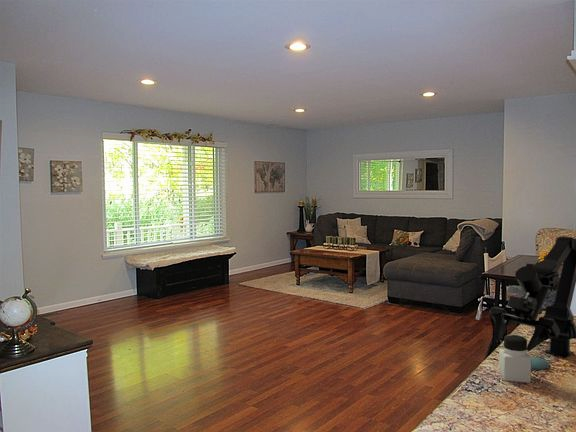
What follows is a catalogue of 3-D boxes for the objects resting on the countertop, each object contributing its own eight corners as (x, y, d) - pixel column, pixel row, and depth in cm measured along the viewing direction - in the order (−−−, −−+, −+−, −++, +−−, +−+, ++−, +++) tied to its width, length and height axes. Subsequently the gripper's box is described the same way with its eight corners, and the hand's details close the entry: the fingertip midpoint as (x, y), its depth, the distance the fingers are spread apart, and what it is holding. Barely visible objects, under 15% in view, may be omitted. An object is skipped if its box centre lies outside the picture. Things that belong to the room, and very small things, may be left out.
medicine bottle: (531, 383, 137) (532, 341, 136) (504, 381, 138) (505, 339, 137) (524, 373, 143) (525, 333, 143) (498, 371, 145) (499, 332, 144)
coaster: (522, 355, 158) (522, 352, 158) (554, 364, 150) (554, 361, 150) (506, 362, 152) (506, 359, 152) (538, 372, 144) (538, 369, 144)
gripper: (492, 280, 148) (471, 322, 143) (556, 291, 133) (535, 338, 128) (506, 301, 154) (485, 343, 148) (568, 314, 139) (548, 361, 133)
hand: (511, 345), depth 139 cm, fingers open, 9 cm apart
